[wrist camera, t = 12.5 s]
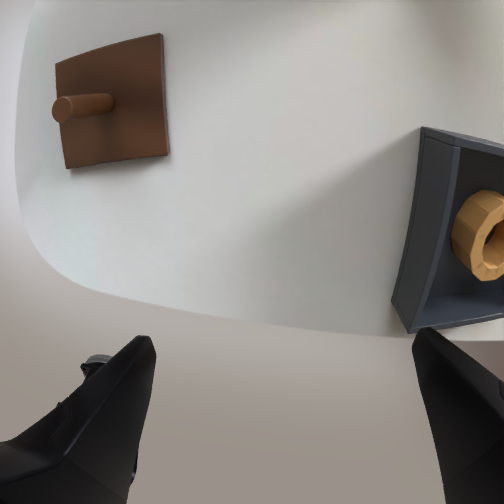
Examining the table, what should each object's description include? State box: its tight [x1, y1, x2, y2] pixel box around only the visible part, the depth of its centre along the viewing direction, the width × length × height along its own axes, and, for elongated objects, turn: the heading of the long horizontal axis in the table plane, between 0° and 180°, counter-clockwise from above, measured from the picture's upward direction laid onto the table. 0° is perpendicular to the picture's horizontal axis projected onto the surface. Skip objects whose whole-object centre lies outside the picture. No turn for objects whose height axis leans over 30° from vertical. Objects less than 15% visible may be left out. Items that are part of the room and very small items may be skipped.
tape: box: [451, 189, 504, 281], centre depth 18 cm, size 6×6×3 cm
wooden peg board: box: [52, 33, 170, 169], centre depth 14 cm, size 8×8×6 cm
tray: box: [391, 127, 504, 334], centre depth 18 cm, size 14×14×4 cm
